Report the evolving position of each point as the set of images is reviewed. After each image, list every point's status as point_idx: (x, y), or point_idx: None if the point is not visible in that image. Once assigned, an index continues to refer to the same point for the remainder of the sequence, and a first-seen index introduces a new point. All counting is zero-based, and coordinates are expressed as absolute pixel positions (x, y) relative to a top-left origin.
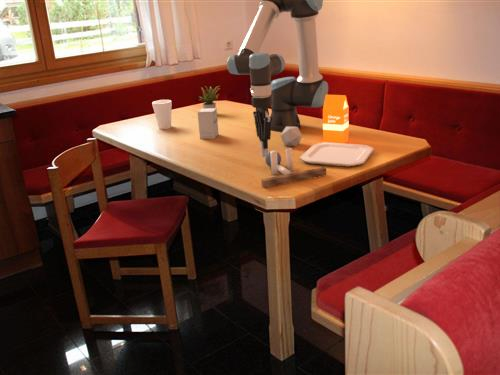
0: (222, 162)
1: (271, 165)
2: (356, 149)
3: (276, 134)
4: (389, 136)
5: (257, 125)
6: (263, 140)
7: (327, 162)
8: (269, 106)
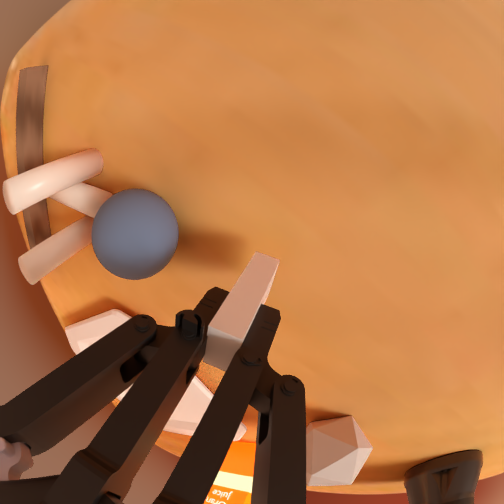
0: (452, 73)
1: (60, 158)
2: None
3: (441, 445)
4: None
5: (265, 482)
6: (180, 328)
7: (84, 321)
8: None
